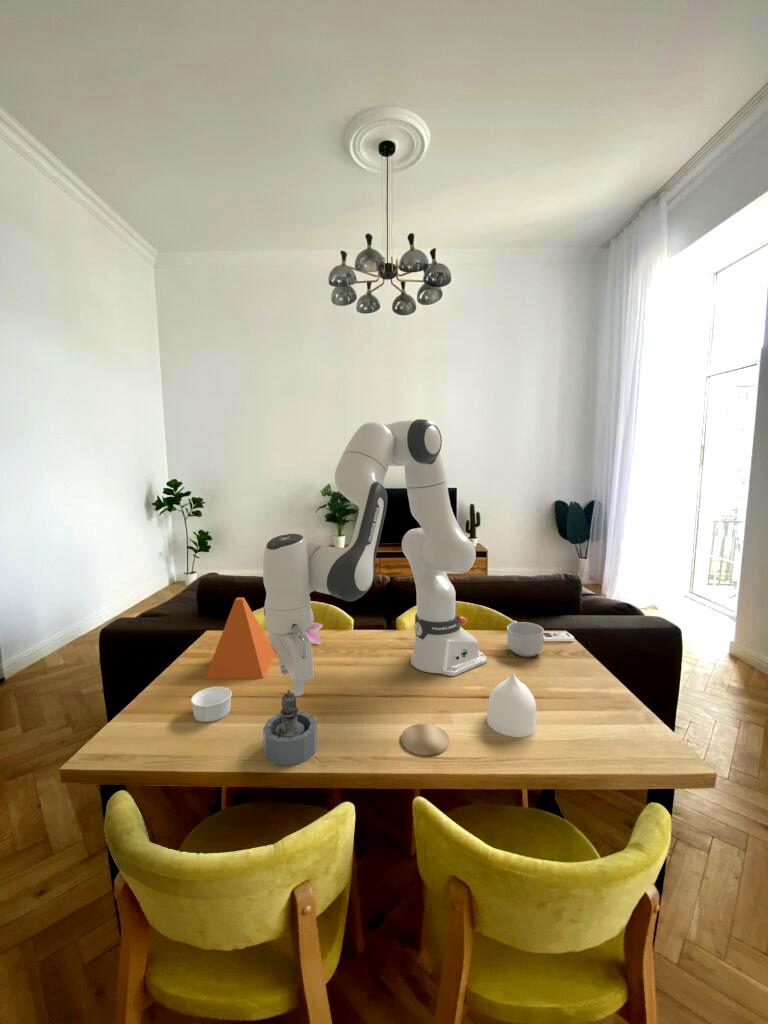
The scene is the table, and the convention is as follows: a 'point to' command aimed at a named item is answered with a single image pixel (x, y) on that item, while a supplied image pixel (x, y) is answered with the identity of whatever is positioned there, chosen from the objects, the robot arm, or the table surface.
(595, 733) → the table surface
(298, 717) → the grey faceted cup
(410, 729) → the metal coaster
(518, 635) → the teacup
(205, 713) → the ramekin
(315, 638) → the lily
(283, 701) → the grey chess piece
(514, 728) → the teardrop
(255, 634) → the pyramid
